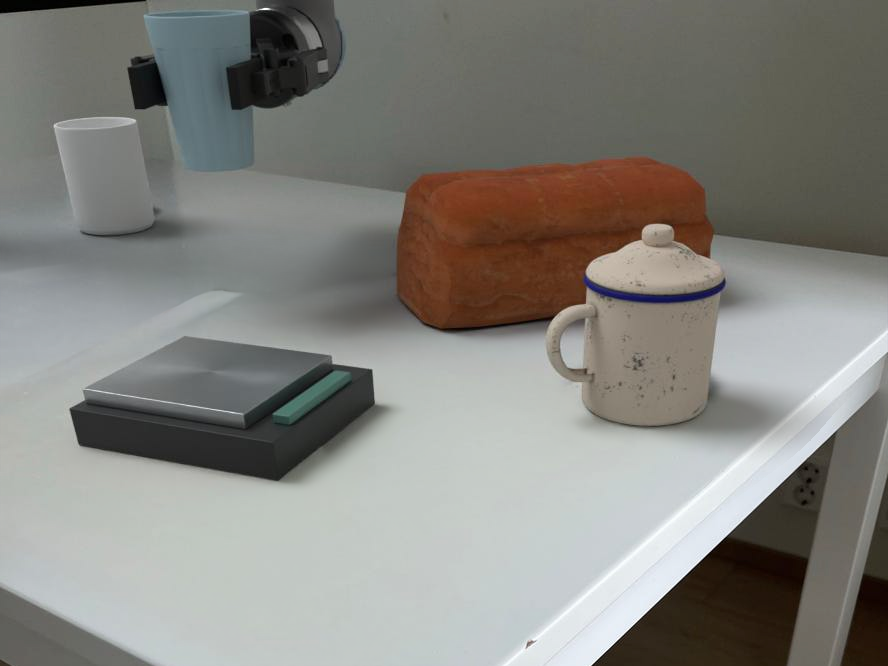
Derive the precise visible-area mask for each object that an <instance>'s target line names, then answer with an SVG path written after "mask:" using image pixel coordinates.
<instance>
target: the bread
mask: <svg viewBox="0 0 888 666" xmlns="http://www.w3.org/2000/svg"><path fill="white" fill-rule="evenodd" d="M706 213H707V200H706V190H705V187H704V186H703V185H701V184H700V183H699V181H697V180H696V179H695V178H694V176H692V175H691V174H690V173H689V172H688V171H686V170H684V169H682V168H679V167H676V166H674V165H671V164H668V163H662V162H660V161H658V160H655V159H653V158H651V157H648V156H630V157H629V156H627V157H623V158H603V159H597V160H592V161H586V162H581V163H576V164H566V163H560V162H559V163H557V162H556V163H547V164H546V163H545V164H534V165H524V166H518V167H513V168H507V169H502V170H499V169H469V170H468V169H466V170H460V171H454V172H453V171H452V172H451V171H450V172H438V173H426V174H425V173H423V174H421V175H420V177H418V178H417V179H416V180H415V181H414V182H413V183H412V184H411V185H410V186H409V187H408V189H407V190H406V192H405V197H404V205H403V210H402V215H401V222H400V224H399V227H398V230H397V240H396V261H395V263H396V266H395V267H396V296H397V297H398V298H399V299H400V301H402V302H403V303H404V304H405V305H406V306H407V307H408V309H409V310H410V311H411V312H412V313H413V314H414V315H415V316H416V317H417V318H418V319H419V320H420V321H421V322H422V323H424V324H426V325H430V326H433V327H436V328H439V329H457V328H458V329H459V328H480V327H489V326H498V325H503V324H512V323H521V322H528V321H535V320H540V319H542V320H543V319H547V318H555V317H556V316H557V315H558V314H559V313H560V312H561V311H563V310H564V309H566V308H568V307H571V306H575V305H582V304H586V294H587V286H586V285H585V283H584V274H585V273H586V269H587V267H588V266H589V264H590V263H591V262H592V261H593V260H595V259H596V258H598V257H601V256H603V255H606V254H610V253H614V252H617V251H619V250H620V249H622V248H623V247H624V246H626V245H628V244H630V243H632V242H636V241H640V240H642V231H643V229H644V228H645V227H646V226H647V225H651V224H665V225H669V226H671V227H672V228H673V230H674V239H673V241H675V242H678V243H681V244H683V245H685V246H687V247H688V248H690V249H691V250H692V251H693V252H694V253H696V254H697V255H700V256H704V257H706V258H709V259H711V251H712V250H711V248H712V244H713V243H712V242H713V238H714V235H715V231H716V230H715V228H714V227H713V224H712V223H711V221H710V220H709V218H708V216H707V214H706Z"/></svg>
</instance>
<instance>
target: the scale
mask: <svg viewBox="0 0 888 666" xmlns="http://www.w3.org/2000/svg"><path fill="white" fill-rule="evenodd" d="M374 384H375V383H374V373H373V369H372V368H366V367H360V366H352V365H344V364H336V363H334V362H333V356H332V355H331V354H324V353H318V352H317V353H316V352H309V351H301V350H294V349H286V348H278V347H273V346H272V347H270V346H263V345H256V344H247V343H241V342H235V341H234V342H233V341H227V340H218V339H212V338H211V339H210V338H205V337H195V336H188V335H184V336H182V337H180V338H178V339H176V340H174V341H173V342H170V343H168V344H166V345H165V346H163V347H161V348H159V349H156V350H155V351H153V352H151V353H149V354H147V355H145V356H143V357H141V358H140V359H137V360H135V361H134V362H131V363H130V364H128V365H126V366H124V367H122V368H120V369H118V370H117V371H114V372H113V373H111V374H108V375H106V376H104V377H103V378H101V379H99V380H97V381H95V382H93V383H91V384H89V385H87V386H85V387H83V388H82V392H83V397H84V400H82V401H80V402H78V403H76V404H75V405H73V406H71V407H69V408H68V409H69V414H70V418H71V421H72V425H73V429H74V433H75V436H76V441H77V444H78V445H79V446H84V447H89V448H94V449H100V450H106V451H111V452H117V453H122V454H127V455H128V454H129V455H134V456H140V457H144V458H145V457H146V458H151V459H156V460H163V461H167V462H172V463H178V464H185V465H190V466H195V467H201V468H205V469H212V470H217V471H223V472H228V473H235V474H238V475H239V474H240V475H244V476H250V477H256V478H261V479H267V480H272V481H273V480H274V481H279V480H281V479H282V478H283V477H284V476H286V475H287V474H289V473H290V472H291V471H292V470H293V469H295V468H296V467H297V466H299V465H300V464H301V463H302V462H303V461H305V460H306V459H307V458H309V456H311V455H312V454H313V453H315V452H316V451H318V450H319V449H320V448H321V447H322V446H323V445H325V444H326V443H327V442H329V441H330V440H331V439H332V438H333V437H335V436H337V435H338V433H340V432H341V431H342V430H343V429H345V428H346V427H348V426H349V425H350V424H352V423H353V422H354V421H355V420H357V418H359V417H360V416H361V415H362V414H364V413H365V412H367V411H368V410H369V409H370V408H372V406H374V405H375V404H376V400H375V399H376V398H375V386H374Z"/></svg>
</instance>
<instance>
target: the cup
mask: <svg viewBox="0 0 888 666" xmlns="http://www.w3.org/2000/svg"><path fill="white" fill-rule="evenodd" d="M249 12H250V11H247V10H235V9H234V10H233V9H232V10H231V9H210V10H209V9H205V10H177V11H164V12H163V11H160V12H152V13H147V14H144V15H143V20H144V22H145V23H144V24H145V28H146V31H147V34H148V35H147V36H148V39H149V42H150V45H151V49H152V52H153V54H154V56H155V60H156V63H157V67H158V71H159V74H160V78H161V82H162V86H163V89H164V93H165V97H166V100H167V104H168V106H167V107H168V110H169V114H170V118H171V122H172V126H173V129H174V134H175V137H176V141H177V144H178V148H179V151H180V155H181V158H182V163H183V166H184V167H185V169H187V170H189V171H192V172H201V173H204V172H205V173H215V172H216V173H218V172H219V173H220V172H231V171H232V172H233V171H239V170H243V169H247V168H250V167H252V166H253V165H255V138H254V137H255V136H254V135H255V133H254V132H255V131H254V108H253V107H254V106H253V105H251V106H249V107H247V108H245V109H242V110H232V109H231V102H230V94H229V87H228V80H227V72H226V67H229V66H232V65H235V64H238V63H241V62H245V61H248V60H251V48H250V14H249Z"/></svg>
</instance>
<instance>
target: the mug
mask: <svg viewBox="0 0 888 666" xmlns="http://www.w3.org/2000/svg"><path fill="white" fill-rule="evenodd" d="M53 130H54V134H55V139H56V143H57V148H58V153H59V156H60V160H61V161H60V162H61V165H62V170H63V173H64V177H65V182H66V186H67V191H68V195H69V200H70V204H71V209H72V213H73V216H74V217H73V218H74V220H75V223H76V226H77V228H78V229H79V231H80V232H82V233H85V234H88V235H93V236H120V235H129V234H133V233H138V232H142V231H145V230H148V229H149V228H151V227H153V224H154V222H155V214H154V206H153V202H152V197H151V191H150V190H151V189H150V185H149V180H148V174H147V170H146V163H145V158H144V154H143V147H142V142H141V137H140V133H139V132H140V131H139V126H138V121H137V120H136V119H135V118H129V117H124V116H123V117H121V116H97V117H84V118H74V119H67V120H63V121H59V122H55V123H54V124H53Z"/></svg>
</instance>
